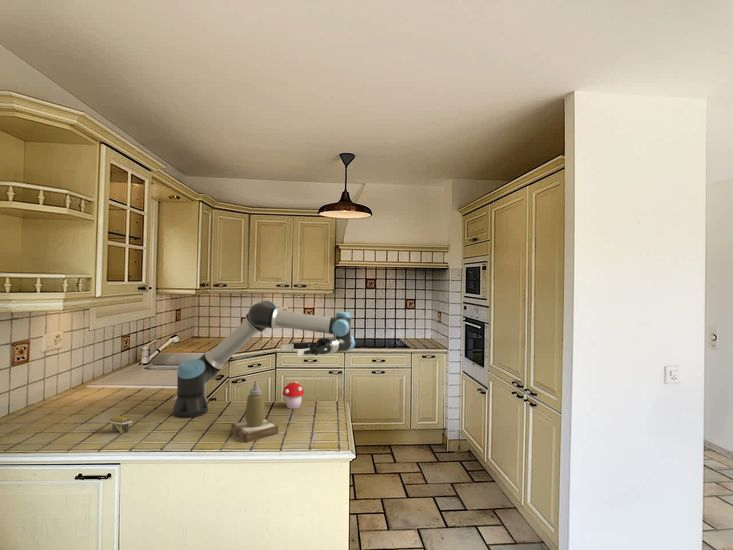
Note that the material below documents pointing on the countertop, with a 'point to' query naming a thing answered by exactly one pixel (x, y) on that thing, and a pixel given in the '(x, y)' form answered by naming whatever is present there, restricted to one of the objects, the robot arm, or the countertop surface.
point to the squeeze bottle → (255, 407)
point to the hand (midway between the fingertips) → (288, 350)
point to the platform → (120, 423)
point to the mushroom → (293, 395)
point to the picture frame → (254, 430)
